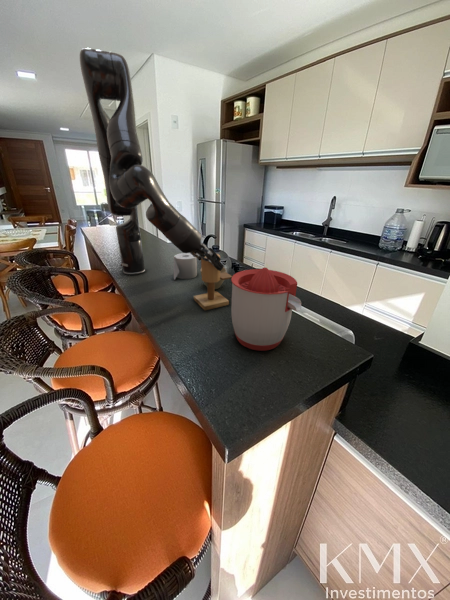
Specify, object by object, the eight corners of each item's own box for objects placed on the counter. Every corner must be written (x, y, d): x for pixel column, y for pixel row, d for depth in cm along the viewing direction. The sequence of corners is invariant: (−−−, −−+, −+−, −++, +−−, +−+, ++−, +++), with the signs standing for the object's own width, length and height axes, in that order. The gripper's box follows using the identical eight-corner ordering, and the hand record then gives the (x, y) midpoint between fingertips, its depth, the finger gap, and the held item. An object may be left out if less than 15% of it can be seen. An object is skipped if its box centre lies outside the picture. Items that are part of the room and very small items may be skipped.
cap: (206, 283, 78) (206, 259, 74) (199, 277, 83) (198, 254, 79) (233, 278, 82) (234, 255, 79) (224, 273, 87) (225, 250, 84)
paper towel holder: (193, 299, 87) (192, 255, 80) (216, 294, 91) (216, 252, 84) (204, 310, 80) (203, 262, 73) (228, 304, 84) (230, 259, 77)
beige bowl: (196, 289, 95) (195, 271, 92) (207, 280, 103) (207, 264, 100) (220, 293, 92) (220, 275, 89) (229, 284, 100) (230, 267, 97)
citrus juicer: (281, 368, 56) (294, 287, 47) (217, 343, 64) (218, 270, 55) (302, 335, 68) (315, 266, 59) (246, 317, 76) (250, 254, 67)
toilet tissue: (170, 281, 101) (169, 261, 98) (178, 271, 113) (177, 252, 110) (192, 282, 101) (191, 262, 97) (198, 271, 113) (197, 253, 109)
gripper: (203, 225, 64) (236, 261, 76) (176, 219, 74) (208, 251, 86) (187, 249, 63) (222, 281, 76) (161, 239, 73) (196, 269, 85)
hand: (215, 265), depth 81 cm, fingers closed on cap, 6 cm apart
